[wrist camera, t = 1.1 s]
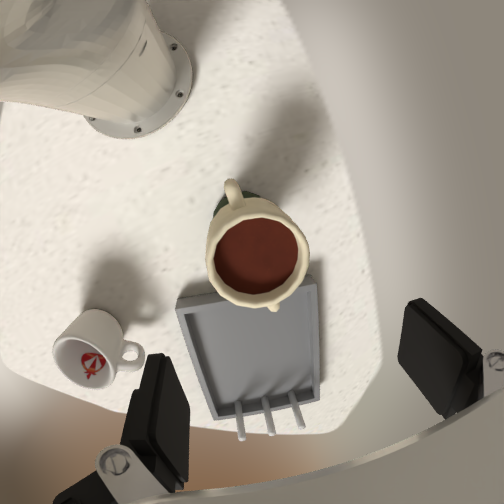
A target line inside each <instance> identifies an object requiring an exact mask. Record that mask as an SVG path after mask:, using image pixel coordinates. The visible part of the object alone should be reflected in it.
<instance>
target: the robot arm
mask: <svg viewBox="0 0 504 504" xmlns="http://www.w3.org/2000/svg"><path fill="white" fill-rule="evenodd" d="M173 48H177V49H176V50H174V51H173V50H172V49H173ZM191 85H192V66H191V62H190V59H189V56H188V54H187V52H186V50H185V49H184V47H183V46H182V44H181V43H179V42H178V41H177V40H176V39H175V38H174V37H172V36H170V35H168V34H167V33H164V32H161V31H160V29H159V27H158V25H157V23H156V21H155V18H154V16H153V14H152V12H151V10H150V7H149V5H148V3H147V1H146V0H0V101H2V102H16V103H24V104H31V105H36V106H42V107H46V108H51V109H57V110H61V111H66V112H71V113H75V114H80V115H83V116H84V118H85V119H86V120H87V122H88V123H89V125H91V126H92V127H93V128H94V129H95V130H96V131H98V132H100V133H102V134H103V135H105V136H109V137H112V138H117V139H135V138H140V137H144V136H147V135H149V134H152V133H154V132H156V131H158V130H159V129H161V128H163V127H164V126H165V125H167V124H168V123H169V122H170V121H171V120H173V119H174V117H175V116H176V115H177V114H178V113H179V112H180V110H181V109H182V107H183V105H184V104H185V102H186V100H187V98H188V95H189V93H190V90H191ZM180 93H182V94H183V96H182V97H178V95H179V94H180ZM94 118H96V119H95V120H94ZM139 128H141V129H142V130H141V132H138V129H139ZM481 352H482V349H481V348H480V347H479V346H478V345H477V344H476V343H474V342H473V341H472V340H471V339H470V338H469V337H468V336H467V335H465V334H464V333H463V332H462V331H461V330H460V329H459V328H457V327H456V326H455V325H454V324H453V323H452V322H450V321H449V320H448V319H447V318H446V317H444V316H443V315H442V314H441V313H440V312H439V311H437V310H436V309H435V308H434V307H433V306H431V305H430V304H429V303H428V302H427V301H425V300H424V299H423V298H418V299H415V300H412V301H410V302H409V303H408V305H407V306H406V307H405V311H404V319H403V326H402V333H401V339H400V345H399V351H398V362H399V364H400V365H401V366H402V367H403V369H404V370H405V371H406V373H407V374H408V375H409V377H410V378H411V379H412V380H413V382H414V383H415V384H416V386H417V387H418V388H419V390H420V391H421V392H422V394H423V395H424V396H425V398H426V399H427V400H428V401H429V403H430V404H431V405H432V407H433V408H434V410H435V411H436V412H437V413H438V414H439V415H442V416H443V417H444V419H445V420H444V421H442V422H440V423H438V424H436V425H435V426H433V427H431V428H429V429H427V430H425V431H422V432H420V433H418V434H416V435H414V436H412V437H410V438H407V439H405V440H403V441H401V442H398V443H396V444H394V445H391V446H389V447H387V448H384V449H381V450H379V451H377V452H374V453H371V454H368V455H365V456H363V457H360V458H357V459H354V460H351V461H348V462H345V463H342V464H338V465H336V466H332V467H328V468H325V469H321V470H318V471H313V472H310V473H306V474H301V475H297V476H293V477H288V478H283V479H278V480H273V481H268V482H262V483H256V484H249V485H242V486H235V487H228V488H218V489H208V490H207V489H206V490H197V491H185V492H177V493H175V490H183V489H184V482H188V475H189V474H188V470H189V429H190V428H189V427H190V406H189V403H188V401H187V398H186V396H185V393H184V391H183V389H182V386H181V384H180V381H179V379H178V377H177V374H176V372H175V369H174V366H173V364H172V361H171V359H170V357H169V356H166V357H165V355H164V354H163V353H159V354H149V355H148V357H147V360H146V364H145V368H144V371H143V375H142V379H141V383H140V387H139V389H135V390H134V391H133V393H132V396H131V400H130V404H129V408H128V412H127V416H126V420H125V424H124V428H123V433H122V437H121V442H120V445H111V446H109V447H106V448H104V449H103V450H102V451H100V453H99V454H98V456H97V458H96V460H95V468H96V471H95V472H93V473H91V474H90V475H88V476H87V477H85V478H84V479H82V480H81V481H79V482H77V483H76V484H74V485H73V486H71V487H69V488H68V489H66V490H65V491H63V492H61V493H60V494H58V495H57V496H56V497H55V499H54V501H53V504H504V351H502V350H498V349H497V350H496V349H495V350H490V351H488V352H487V353H485V355H484V356H483V355H482V354H481ZM456 412H457V414H455V413H456Z"/></svg>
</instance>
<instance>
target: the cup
mask: <svg viewBox="0 0 504 504" xmlns="http://www.w3.org/2000/svg"><path fill="white" fill-rule="evenodd" d="M128 351H133V352H136V353H137V354H138V358H137V359H136V360H133V361H127V360H125V359H123V358H122V356H123V354H124V353H126V352H128ZM52 352H53V358H54V361H55V363H56V365H57V367H58V369H59V370H60V371H61V372H62V374H63V375H64V376H65V377H66V378H68V379H69V380H70V381H72V382H73V383H75V384H76V385H78V386H81V387H83V388H87V389H92V390H100V389H104V388H107V387H108V386H110V385H111V384H112V383H113V381H114V379H115V376H116V373H117V372H119V371H122V372H135V371H138V370H139V369H140V368H141V367H142V366H143V364H144V361H145V352H144V349H143V347H142V346H141V345H140V344H138V343H136V342H132V341H127V340H124V339H123V333H122V329H121V326H120V324H119V323H118V321H117V320H116V319H115V318H114V317H113V316H112V315H110V314H109V313H107V312H105V311H103V310H99V309H90V310H87V311H85V312H83V313H82V314H80V315H79V316H78V317H77V318H76V319H75V320H74V321H73V322H72V323H71V324H70V325H69V326H68V328H67V329H66V330H65V331H64V332H63V333H62V334H61V335H60V336H59V337H58V338H57V339H56V341H55V342H54V345H53V351H52Z"/></svg>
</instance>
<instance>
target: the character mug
mask: <svg viewBox="0 0 504 504" xmlns="http://www.w3.org/2000/svg"><path fill="white" fill-rule="evenodd" d="M224 189H225V193H226V195H227V197H225V198H224V199H222V200H221V201H220V203H219V204H218V206H217V207H216V209H215V211H214V215H213V220H212V221H211V223H210V227H209V231H208V236H207V244H206V256H205V260H206V266H207V271H208V276H209V281H210V282H211V283H212V285H213V286H214V288H215V289H216V290H217V292H218V293H219V294H220V296H222V297H224V298H225V299H227V300H229V301H230V302H232V303H234V304H235V305H238V306H244V307H249V308H261V307H268V309H269V310H270V311H271V312H277V311H278V310H279V309H280V301H282V300H284V299H285V298H287V297H289V296H290V295H291V294H292V293H293V292H294V291H295V290H296V288H297V287H298V286H299V285H300V284H301V283H302V281H303V279H304V277H305V274H306V272H307V269H308V267H309V257H310V252H309V245H308V242H307V240H306V237H305V236H304V234H303V233H302V231H301V230H300V229H299V227H298V226H297V225H296V223H294V222H293V221H292V219H291V218H290V217H289V216H288V215H287V214H285V213H284V212H283V211H282V210H281V209H280V208H279V207H278V206H277V205H275V204H274V203H272V202H271V201H269V200H267V199H263V198H261V197H260V196H259V195H256V194H253V193H250V192H247V191H243V192H241V189H240V187H239V185H238V183H237V182H236V181H235V180H234V179H227V180H226V181H225V182H224Z"/></svg>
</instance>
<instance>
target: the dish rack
mask: <svg viewBox="0 0 504 504" xmlns="http://www.w3.org/2000/svg"><path fill="white" fill-rule="evenodd" d="M175 311H176V314H177V317H178V321H179V324H180V327H181V330H182V333H183V336H184V339H185V343H186V346H187V349H188V352H189V355H190V357H191V360H192V363H193V366H194V369H195V372H196V375H197V377H198V380H199V383H200V386H201V388H202V391H203V394H204V396H205V399H206V402H207V404H208V407H209V409H210V412H211V414H212V417H213V419H214V421H215V420H223V419H230V418H236V422H237V430H238V438H239V440H240V441H244V440H246V434H245V427H244V420H243V416H249V415H255V414H261V413H264V415H265V420H266V425H267V429H268V434H269V435H270V436H273V435H275V434H276V431H275V426H274V422H273V418H272V414H271V411H276V410H281V409H286V408H290V407H292V410H293V413H294V416H295V419H296V422H297V426H298V429H304V428H305V427H306V426H305V423H304V420H303V417H302V414H301V411H300V408H299V405H303V404H307V403H311V402H315V401H319V400H320V354H319V319H318V297H317V283H316V282H315V280H314V279H313V278H312V276H311V275H306V276H305V277H304V279H303V281H302V283H301V284H300V285H299V286H298V287H297V288H296V290H295V291H294V292H293V293H292V294H291V295H290V296H289V297H287V298H285V299H284V300H282V301H280V309H279V310H278V311H277V312H271V311H270V310H269V309H268V307H261V308H249V307H244V306H238V305H235V304H234V303H232V302H230V301H229V300H227V299H225V298H224V297H222V296H220V294H219V293H218V292H215V293H209V294H203V295H197V296H191V297H185V298H179V299H177V303H176V307H175Z"/></svg>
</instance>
